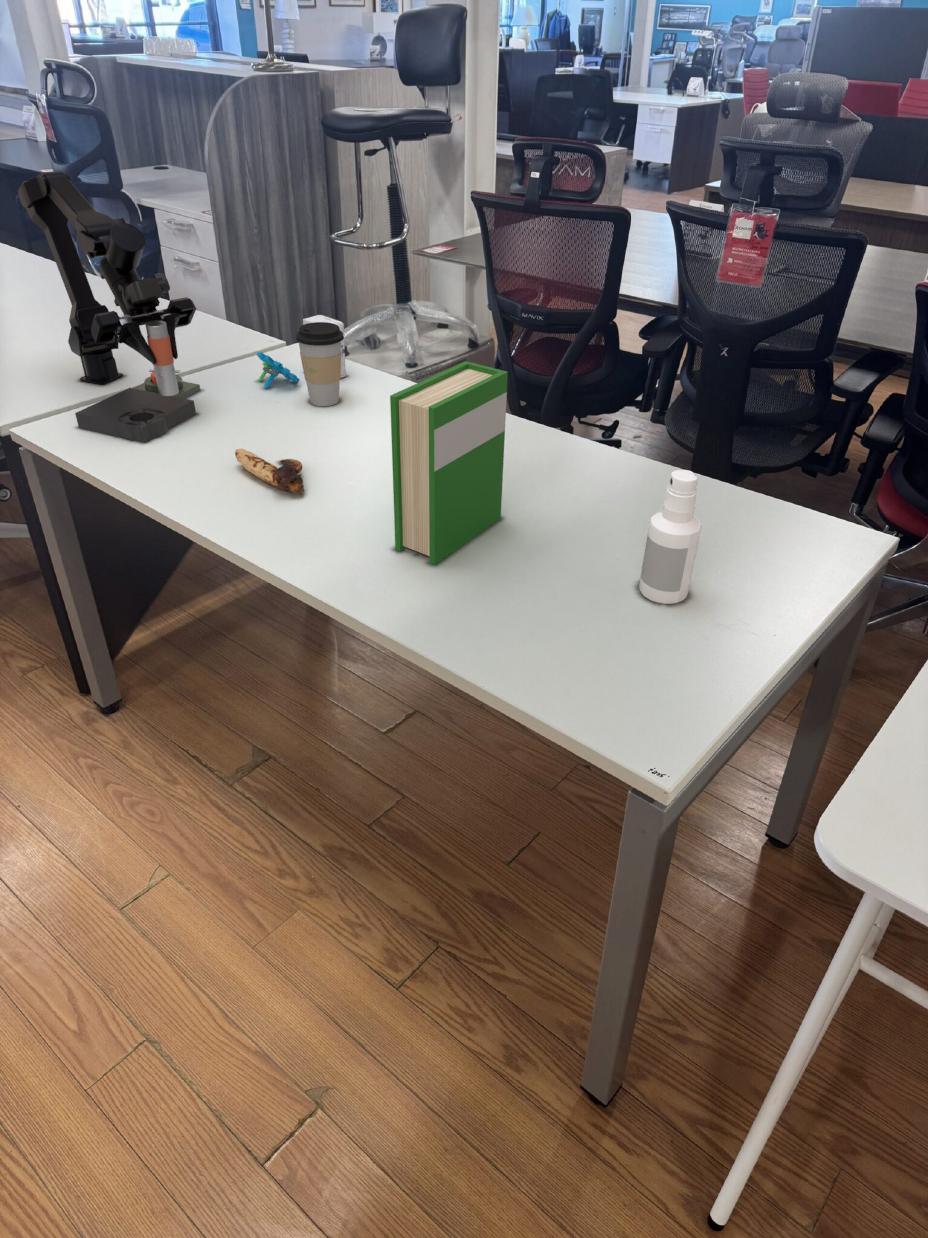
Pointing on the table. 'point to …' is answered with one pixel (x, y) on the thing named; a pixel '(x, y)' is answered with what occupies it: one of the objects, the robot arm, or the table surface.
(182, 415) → the grinder base
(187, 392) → the button block
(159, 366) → the silver-capped orange cylinder
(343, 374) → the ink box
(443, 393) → the hardback book
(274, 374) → the blue toy gun
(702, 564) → the table surface
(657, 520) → the spray bottle
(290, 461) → the lashed bone hook
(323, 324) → the coffee cup
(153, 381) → the release button
